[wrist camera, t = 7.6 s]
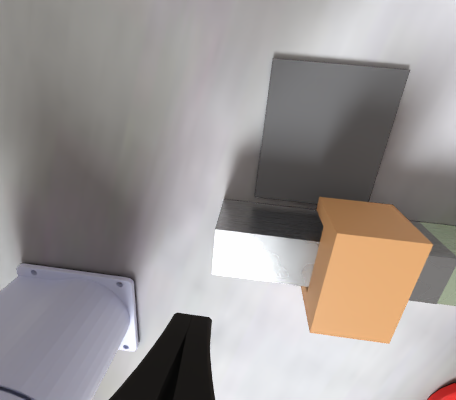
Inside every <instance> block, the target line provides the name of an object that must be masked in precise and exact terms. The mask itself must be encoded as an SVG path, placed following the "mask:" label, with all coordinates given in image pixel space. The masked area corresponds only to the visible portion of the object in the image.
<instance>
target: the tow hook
mask: <svg viewBox="0 0 456 400" xmlns="http://www.w3.org/2000/svg"><path fill="white" fill-rule="evenodd" d="M428 400H456V383H453V384H451V385H448V386H446V387H443V388H441V389H440V390H438V391H437V392H435V393H434V394H432V395H431V396H430V398H429V399H428Z"/></svg>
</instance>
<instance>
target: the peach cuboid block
mask: <svg viewBox="0 0 456 400" xmlns="http://www.w3.org/2000/svg"><path fill="white" fill-rule="evenodd" d="M316 210H317V212H318V215H319V217H320V219H321V222H322V224H323V231H322V235H321V239H320V243H319V247H318V251H317V255H316V259H315V263H314V267H313V271H312V275H311V279H310V283H309V287H305V286H301V289H302V294H303V300H304V305H305V310H306V315H307V320H308V325H309V330H310V333H316V334H323V335H331V336H338V337H345V338H352V339H359V340H367V341H374V342H381V343H388V344H389V343H390V341H391V338H392V336H393V334H394V332H395V329H396V327H397V325H398V323H399V320H400V318H401V316H402V314H403V311H404V309H405V307H406V305H407V302H408V300H409V298H410V296H411V294H412V291H413V289H414V287H415V285H416V282H417V280H418V278H419V276H420V273H421V271H422V269H423V267H424V264H425V262H426V260H427V258H428V255H429V253H430V251H431V249H432V246H433V244H432V243H431V242H430V241H429V240H428V239H427V238H426V237H425V236H424V235H423V234H422V233H421V232H420V231H419V230H418V229H417V228H416V227H415V226H414V225H413V224H412V223H411V222H410V221H409V220H408V219H407V218H406V217H405V216H404V215H403V214H402V213H401V212H400V211H399V210H398V209H397V208H396V207H395V206H393V205H390V204H381V203H372V202H363V201H354V200H344V199H335V198H326V197H319V200H318V205H317V209H316Z"/></svg>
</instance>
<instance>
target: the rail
mask: <svg viewBox="0 0 456 400" xmlns="http://www.w3.org/2000/svg"><path fill="white" fill-rule="evenodd" d="M410 222H411V223H412V224H413V225H414V226H415V227H416V228H417V229H418V230H419V231H420V232H421V233H422V234H423V235H424V236H425V237H426V238H427V239H428V240H429V241H430V242H431V243H432V244H433V246H432V249H431V251H430V253H429V255H428V258H427V260H426V262H425V264H424V267H423V269H422V271H421V273H420V276H419V278H418V280H417V282H416V285H415V287H414V289H413V291H412V294H411V296H410V298H409V300H410V301H417V302H425V303H432V304H445V305H452V306H456V226H451V225H443V224H434V223H425V222H417V221H410ZM322 231H323V224H322V222H321V219H320V217H319V215H318V212H317V210H314V209H305V208H296V207H288V206H279V205H271V204H262V203H253V202H245V201H236V200H228V199H224V200H223V204H222V207H221V211H220V214H219V218H218V221H217V225H216V228H215V239H214V253H213V267H212V274H215V275H222V276H230V277H237V278H245V279H252V280H260V281H267V282H275V283H282V284H290V285H297V286H305V287H309V283H310V279H311V275H312V271H313V267H314V263H315V259H316V255H317V251H318V247H319V243H320V239H321V235H322Z"/></svg>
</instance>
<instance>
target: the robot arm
mask: <svg viewBox="0 0 456 400" xmlns="http://www.w3.org/2000/svg"><path fill="white" fill-rule="evenodd" d="M16 270H17V274H18V277H17V278H15V279H14V280H13V281H12V282H11V283H9V284H8V285H7V286H6V287H5V288H3V289H2V290H1V291H0V400H92V399H93V397H94V395H95V393H96V391H97V389H98V387H99V385H100V383H101V381H102V379H103V377H104V376H105V374H106V372H107V370H108V368H109V366H110V364H111V362H112V360H113V358H114V356H115V354H116V352H117V350H118V349H119V350H125V351H136V350H137V348H138V332H137V318H136V305H135V291H134V282H133V280H132V279H130V278H127V277H120V276H113V275H105V274H98V273H91V272H83V271H76V270H69V269H61V268H54V267H47V266H39V265H32V264H25V263H22V264H20V265H19V266H17V268H16ZM119 282H121V283H122V284H121V283H119ZM211 324H212V320H211V319H210V318H209V317H204V316H196V315H189V314H182V313H176V314H174V316H173V317H172V319H171V321H170V322H169V324H168V325H167V327H166V328H165V330H164V331H163V333H162V334H161V336H160V337H159V339H158V340H157V341H156V343H155V344H154V346H153V347H152V348H151V350H150V351H149V352H148V354H147V355H146V356H145V357H144V359H143V360H142V361H141V363H140V364H139V365H138V366H137V368H136V369H135V370H134V371H133V372H132V374H131V375H130V376H129V377H128V378H127V380H126V381H125V382H124V383H123V384H122V386H121V387H120V388H119V389H118V390H117V391H116V392H115V394H114V395H113V396H112V397H111V398H110V399H109V400H215V395H214V389H213V381H212V371H211V361H210V337H211Z"/></svg>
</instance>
